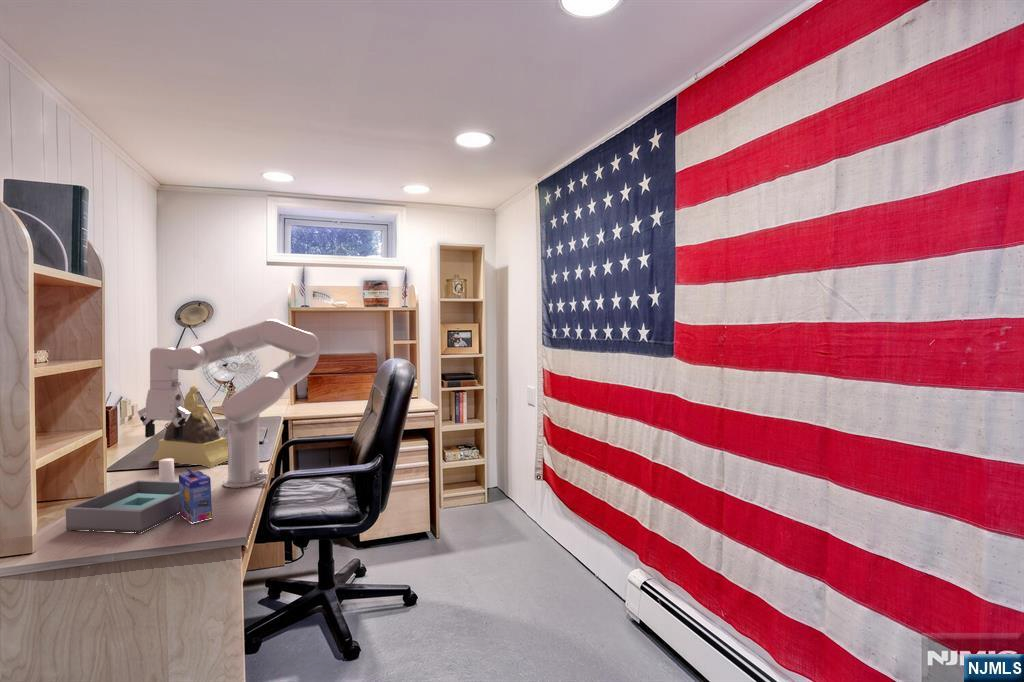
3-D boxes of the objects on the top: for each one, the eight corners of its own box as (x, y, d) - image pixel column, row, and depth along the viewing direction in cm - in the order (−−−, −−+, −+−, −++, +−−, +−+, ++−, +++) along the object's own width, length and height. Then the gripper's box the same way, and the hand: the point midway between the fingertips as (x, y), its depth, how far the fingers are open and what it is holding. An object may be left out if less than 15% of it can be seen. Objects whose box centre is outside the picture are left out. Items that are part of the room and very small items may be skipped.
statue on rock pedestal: (238, 458, 199) (237, 384, 198) (211, 467, 187) (210, 389, 185) (182, 453, 206) (180, 381, 205) (152, 461, 194) (151, 385, 192)
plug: (177, 488, 164) (176, 458, 163) (168, 492, 160) (167, 462, 159) (166, 487, 164) (165, 458, 164) (156, 492, 160) (155, 461, 160)
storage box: (202, 501, 152) (202, 482, 152) (140, 534, 129) (140, 511, 129) (138, 499, 154) (137, 480, 153) (66, 530, 131) (65, 508, 130)
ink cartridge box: (178, 516, 141) (177, 466, 140) (200, 510, 145) (199, 462, 145) (190, 525, 135) (189, 473, 134) (213, 519, 139) (212, 468, 138)
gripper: (197, 384, 163) (197, 436, 164) (148, 382, 165) (148, 433, 165) (180, 387, 156) (180, 441, 157) (129, 385, 157) (129, 438, 158)
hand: (164, 437), depth 161 cm, fingers open, 9 cm apart
